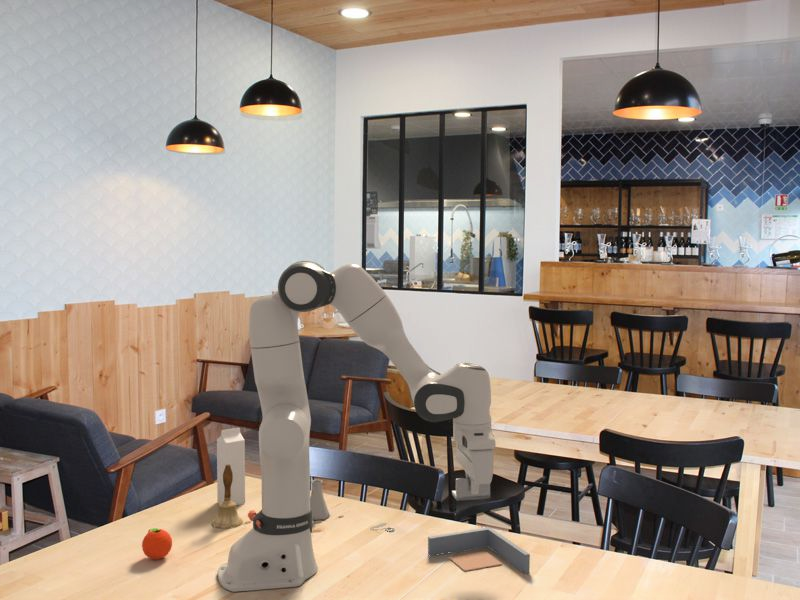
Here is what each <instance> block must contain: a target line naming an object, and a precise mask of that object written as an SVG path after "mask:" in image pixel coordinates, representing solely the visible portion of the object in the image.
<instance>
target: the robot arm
mask: <svg viewBox="0 0 800 600" xmlns="http://www.w3.org/2000/svg"><path fill="white" fill-rule="evenodd" d="M328 305H330V306H332V307H333V308H335V310H337V312H338V313H339V314H340V316H342V318H343V319H344V321H345V322H346V323H347V325H348V326H349V328H350V329H351V330H352V331H353V332H354V333H355V334H356V336H358V337H359V338H360V340H362V341H363V342H364V343H365V344H366V345H367V346H370V347H371V348H375V349H377V350H378V351H380V352H382V353H383V354H384V355H385V356H387V358H388V359H389V361H390V362H391V364H393V366H394V367H395V368H396V370H397V371H398V372H399V374H400V375H401V376H402V378H403V379H404V380H405V382H406V384H407V386H408V392H409V393H408V394H409V398H410V400H411V402H412V405H413V407H414V410H415V412H416V413H417V415H418V416H419V417H420V418H421V419H423V420H424V421H427V422H429V423H438V422H439V423H440V422H444V421H449V420H452V424H453V425H452V429H453V431H452V432H453V433H452V435H453V436H452V437H453V439H452V440H453V442H454V443H455V460H456V463H457V464H458V465H459V466H460V467H461V468H462V469H463V470H464V473H465V478H470V480H471V485H470V492H471V494H478V493H479V485H480V484H490V485H491V483H492V480H493V476H494V475H493V474H494V449H496V439H495V437H494V434H493V427H492V417H491V414H490V413H491V412H490V409H491V408H490V407H491V404H492V388H491V379H490V375H489V372H488V371H487V369H486V368H484V367H483V366H481V365H478V364H475V363H470V362H459V363H456V364H455V365H454V366H453V367H451V368H450V369H448V370H447V371H445V372H443V373H440V372H438V371H436V370H434V369H432V368H431V367H430V366H428V365H427V364H426V362H425V361H424V360H423V358H422V357H421V355H420V354H419V353H418V352H417V350H416V349H415V348H414V346H413V345H412V343H411V342H410V340H409V339H408V337H407V335H406V332H405V330H404V326H403V322H402V319H401V317H400V314H399V312H398V310H397V309H396V307H395V305H394V303H393V302H392V301H391V299H390V297H389V296H388V295H387V293H386V292H385V291H384V289H383V288H382V287H381V286H380V284H379V283H378V282H377V281H376V280H375V279H374V278H373V277H372V275H370V274H369V272H367V271H366V270H365V268H364V267H362V266H360V265H359V264H354V263H349V264H345V265H342V266H340V267H339V268H337V269H336V270H334V271H327V270H325V268H324V267H322V265H320V264H318V263H317V262H314V261H309V260H298V261H296V262H294V263H292V264H290V265H289V266H288V267H287V268H286V269H284V271H283V272H282V273H281V275H280V277H279V279H278V282H277V291H276V292H275V293H272V294H268V295H264V296H261V297H259V298H257V299H256V300H254V301H253V303H252V304H251V306H250V308H249V319H248V321H249V322H248V324H249V325H248V331H249V332H248V335H249V344H250V352H251V361H252V368H253V376H254V377H253V378H254V383H255V386H256V389H257V394H258V397H259V401H260V402H259V403H260V408H261V409H260V410H261V413H262V420H261V423H260V424H259V428H258V447H259V462H260V463H259V464H260V474H261V475H260V476H261V510H260V511H259V512H257V511H256V510H253V509H252V510H250V511H248V512H247V517H248V518H249V520H250V521H251V522H252V528H251V529H250V530H249V531H248V532H246V533H245V534H244V535H243V536H242V537H240V538H239V539H238V540H236V541H235V542H234V543H233V544H232V545H231V547H230V549H229V553H228V558H227V562H225V563H222V564H221V565H220V566H219V568H218V569H217V579H218V582H219V584H220V585H221V586H222V587H223V588H224V589H226V590H228V591H230V592H233V593H234V592H247V591H258V590H260V591H261V590H268V589H269V590H270V589H282V588H285V589H286V588H293V587H295V588H296V587H300V586H301V585H302V584H303V583H304V582H305V580H307V579H309V578H310V577H312V576H314V575H315V574H316V572H317V571H318V565H317V562H316V558H315V552H314V549H313V547H314V546H313V540H312V539H313V538H312V533H313V527H314V525H313V523H314V520H313V515H312V509H311V508H310V497H311V471H310V470H311V468H310V466H311V465H310V462H311V461H310V433H311V432H310V431H311V425H312V418H311V417H312V416H311V411H310V404H309V397H308V393H307V392H308V391H307V385H306V380H305V374H304V367H303V359H302V351H301V344H300V343H301V342H300V336H299V328H298V322H299V316H300V315H301V314H302V313H306V312H311V311H315V310H318V309H320V308H322V307H325V306H328Z"/></svg>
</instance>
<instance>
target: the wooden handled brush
mask: <svg viewBox="0 0 800 600" xmlns="http://www.w3.org/2000/svg"><path fill="white" fill-rule="evenodd" d="M232 480H233V473H232V470H231V466H230V465H226V466H225V469H224V472H223V483H224V487H225V496H224V501H223V502H221V503H218V511H217V514H216V517H215V518H214V519H213V520H212V522H211V526H212V527H214V526H215V527H214V528H217V527H219V528H218V529H232V528H237V527H240V526H241V525H242V524H243V523H244V520H243V518H241V516H240V515H239V513H238V510H237V505H236V503H235V502H233V501H231V498H230V497H231V484H232ZM231 527H232V528H231Z"/></svg>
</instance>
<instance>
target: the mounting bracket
mask: <svg viewBox="0 0 800 600" xmlns="http://www.w3.org/2000/svg"><path fill="white" fill-rule="evenodd" d="M386 524H387V523H386V522H382V523H380V524H376V525H375V526H372V527H370V530H371V529H372V531H374V530H375V532H377V530H379V529H374V528H379V527H383V526H385V525H386ZM383 529H385V531H387V532H388V531H389V532H388V533H392V532H391V531H393V532H395V531H396V530H395V529H396V528H390V527H388V528H383ZM383 529H380V530H383ZM387 529H388V530H387ZM391 529H392V530H391ZM394 530H395V531H394Z"/></svg>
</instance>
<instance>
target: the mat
mask: <svg viewBox="0 0 800 600" xmlns="http://www.w3.org/2000/svg"><path fill="white" fill-rule="evenodd" d="M449 558H450V559H451V560H452V561H453V562H452V561H451V560H450V559H449ZM448 559H449V560H450V561H451V562H452V563H454V564H455V563H456V564H457V565H458V566H459V569H461V570H462V569H463V570H464V571H465V572H470V571H469V570H471V571H475V570H482V569H487V568H486V567H488V568H491V567H492V566H493V567H497V566H499V567H500V566H503V563H502V562H500V560H498V559H497V558H495V557H494V556H493V555H491V554H490V553H488V552H487V551H486V550H485V551H480V552H473V553H468V554H462V555H456V556H451V557H449V556H448ZM456 564H455V565H456ZM457 565H456V566H457ZM458 566H457V567H458ZM493 567H492V568H493ZM481 568H482V569H481ZM463 570H462V571H463ZM464 571H463V572H464Z"/></svg>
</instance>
